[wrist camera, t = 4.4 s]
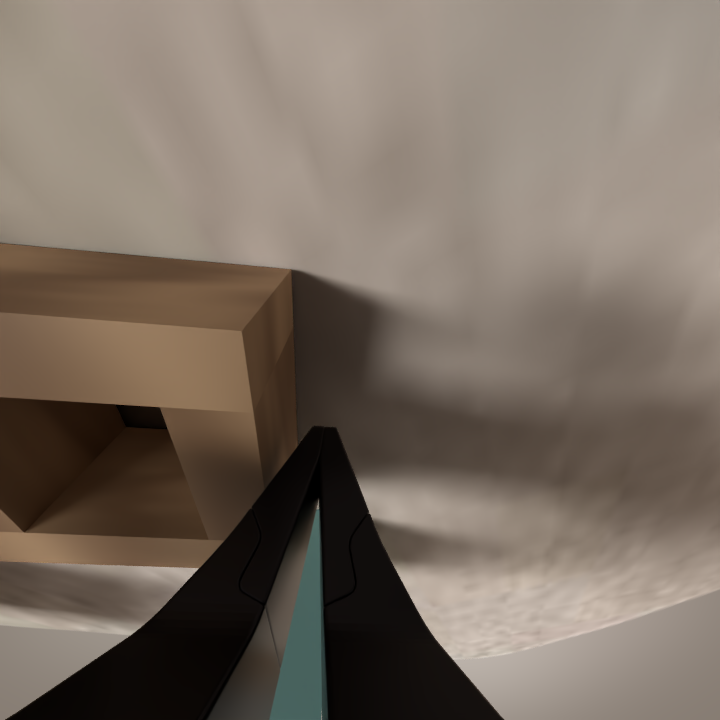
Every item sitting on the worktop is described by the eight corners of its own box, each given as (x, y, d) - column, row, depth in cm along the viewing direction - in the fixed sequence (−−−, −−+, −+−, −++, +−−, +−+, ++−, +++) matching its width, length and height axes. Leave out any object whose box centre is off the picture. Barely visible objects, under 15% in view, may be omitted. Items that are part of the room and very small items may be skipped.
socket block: (291, 269, 9) (241, 331, 5) (298, 465, 14) (276, 570, 10) (-30, 240, 8) (-349, 285, 5) (97, 454, 13) (-7, 560, 10)
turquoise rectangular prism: (335, 510, 16) (315, 791, 9) (332, 544, 19) (314, 796, 11) (266, 507, 16) (184, 792, 9) (271, 542, 18) (209, 797, 11)
